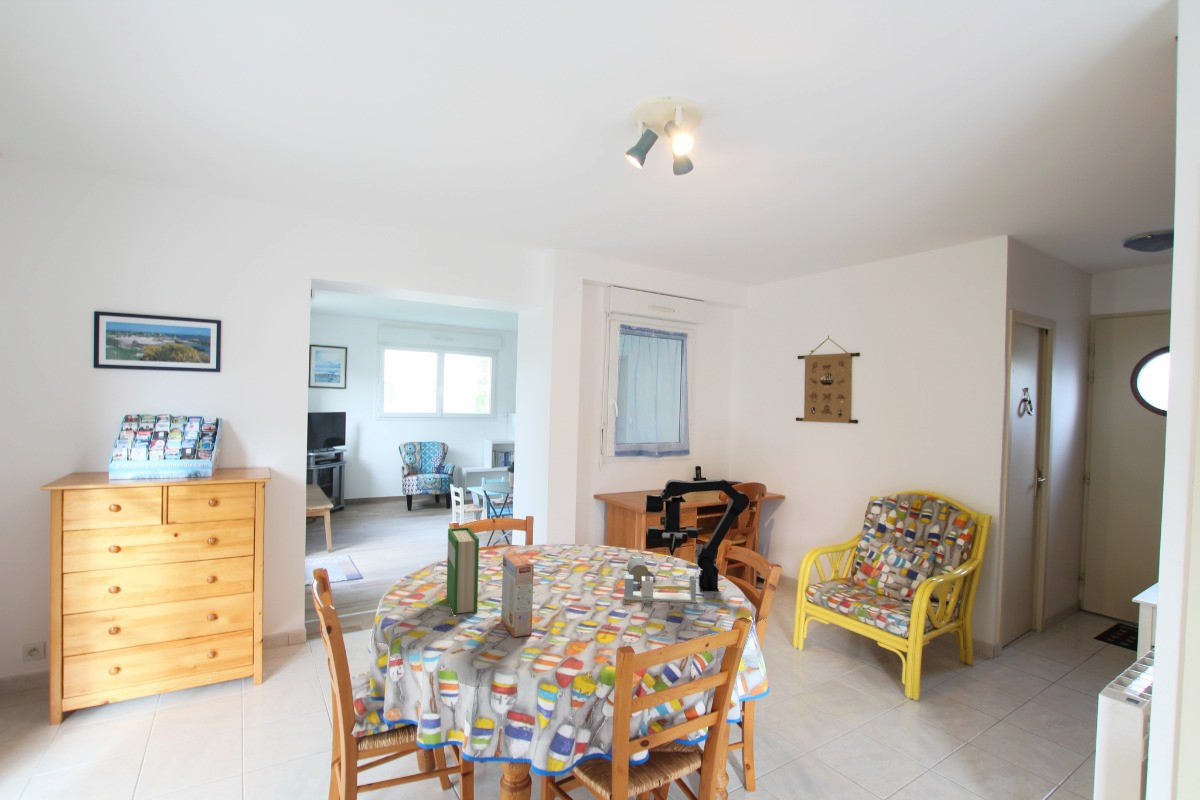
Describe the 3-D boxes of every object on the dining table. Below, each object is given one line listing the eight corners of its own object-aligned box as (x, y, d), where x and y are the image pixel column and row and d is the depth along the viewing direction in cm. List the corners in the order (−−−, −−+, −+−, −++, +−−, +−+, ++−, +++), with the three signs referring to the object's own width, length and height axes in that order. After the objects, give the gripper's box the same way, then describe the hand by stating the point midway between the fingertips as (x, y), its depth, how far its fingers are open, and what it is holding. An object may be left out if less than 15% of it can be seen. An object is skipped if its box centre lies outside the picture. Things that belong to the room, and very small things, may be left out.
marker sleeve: (652, 591, 195) (652, 576, 195) (653, 596, 190) (653, 580, 190) (641, 591, 195) (641, 576, 195) (641, 596, 190) (641, 580, 190)
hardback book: (477, 613, 174) (478, 538, 174) (453, 616, 171) (455, 540, 171) (468, 595, 190) (469, 527, 191) (446, 597, 187) (448, 528, 188)
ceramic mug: (630, 583, 207) (631, 563, 207) (626, 576, 215) (627, 557, 215) (657, 583, 208) (658, 563, 208) (652, 576, 216) (653, 557, 216)
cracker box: (533, 635, 158) (534, 563, 159) (513, 638, 156) (514, 566, 156) (519, 618, 171) (520, 551, 171) (500, 620, 169) (502, 553, 169)
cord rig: (694, 595, 195) (694, 574, 195) (696, 602, 188) (696, 581, 188) (624, 592, 196) (625, 572, 196) (624, 599, 189) (624, 578, 189)
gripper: (695, 510, 212) (694, 550, 211) (647, 508, 213) (646, 548, 212) (698, 516, 200) (697, 558, 200) (648, 514, 201) (647, 556, 201)
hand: (671, 554), depth 204 cm, fingers closed
